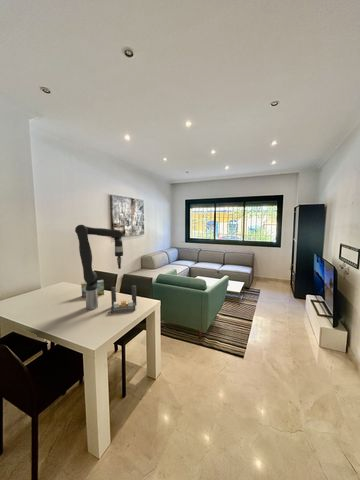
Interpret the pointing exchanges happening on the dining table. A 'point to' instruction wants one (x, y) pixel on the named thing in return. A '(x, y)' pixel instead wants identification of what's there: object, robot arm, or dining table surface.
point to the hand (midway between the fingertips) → (119, 268)
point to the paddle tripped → (123, 303)
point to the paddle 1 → (116, 304)
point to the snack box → (99, 288)
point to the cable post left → (113, 295)
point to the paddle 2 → (130, 303)
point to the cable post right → (134, 294)
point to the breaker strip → (123, 308)
